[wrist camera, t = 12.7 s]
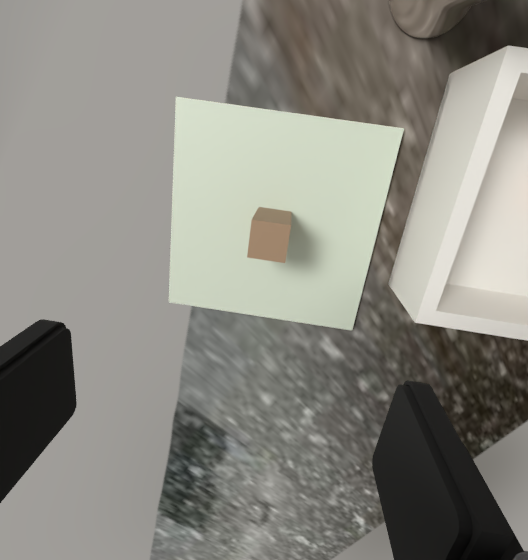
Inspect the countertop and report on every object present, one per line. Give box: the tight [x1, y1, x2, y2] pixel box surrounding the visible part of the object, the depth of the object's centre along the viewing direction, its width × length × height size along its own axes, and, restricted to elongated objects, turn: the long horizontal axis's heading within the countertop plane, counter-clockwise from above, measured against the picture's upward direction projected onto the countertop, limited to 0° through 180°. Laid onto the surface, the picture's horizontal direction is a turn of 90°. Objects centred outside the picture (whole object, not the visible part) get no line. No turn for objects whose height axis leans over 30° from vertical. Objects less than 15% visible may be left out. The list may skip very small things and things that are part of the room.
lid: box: [169, 97, 404, 330], centre depth 30 cm, size 19×19×7 cm
